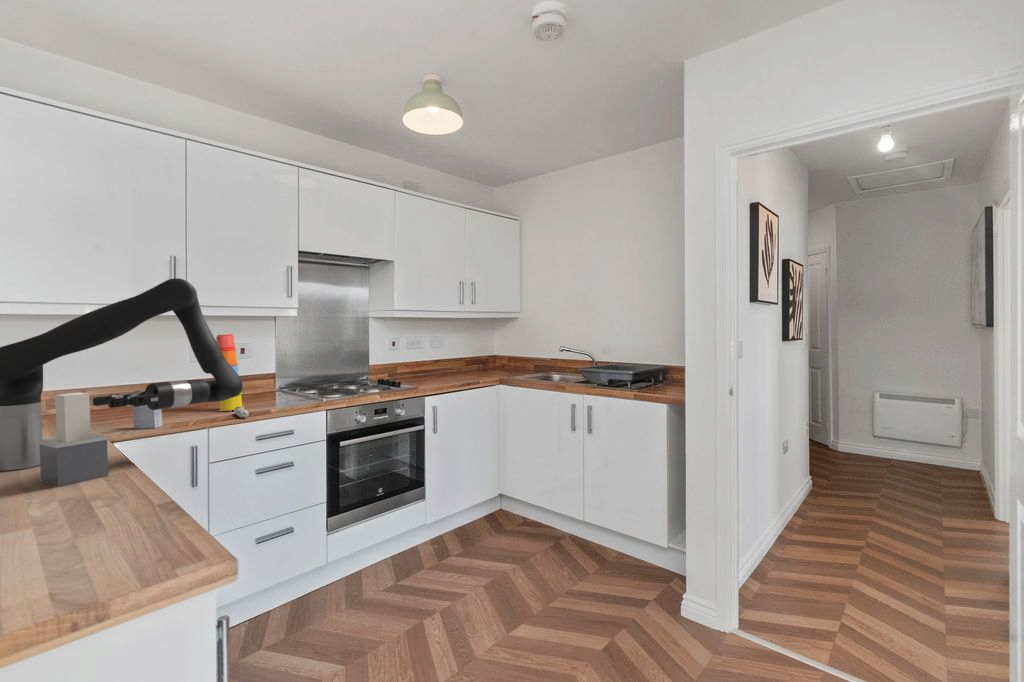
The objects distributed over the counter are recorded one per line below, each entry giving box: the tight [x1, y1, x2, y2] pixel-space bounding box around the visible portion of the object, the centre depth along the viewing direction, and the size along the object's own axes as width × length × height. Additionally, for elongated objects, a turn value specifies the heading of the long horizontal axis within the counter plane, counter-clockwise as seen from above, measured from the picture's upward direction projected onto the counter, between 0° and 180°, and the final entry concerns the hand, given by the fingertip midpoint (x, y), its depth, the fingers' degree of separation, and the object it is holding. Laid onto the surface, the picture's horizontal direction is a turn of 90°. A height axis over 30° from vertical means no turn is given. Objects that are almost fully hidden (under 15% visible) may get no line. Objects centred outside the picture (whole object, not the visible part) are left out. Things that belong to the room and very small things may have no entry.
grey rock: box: [233, 402, 251, 419], centre depth 215 cm, size 18×5×6 cm, turn 38°
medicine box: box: [132, 405, 163, 430], centre depth 193 cm, size 8×4×9 cm, turn 92°
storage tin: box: [38, 432, 109, 487], centre depth 127 cm, size 10×10×10 cm
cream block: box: [54, 392, 92, 441], centre depth 127 cm, size 5×5×11 cm
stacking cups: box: [215, 333, 245, 410], centre depth 232 cm, size 10×10×35 cm
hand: (101, 402), depth 132 cm, fingers open, 8 cm apart
